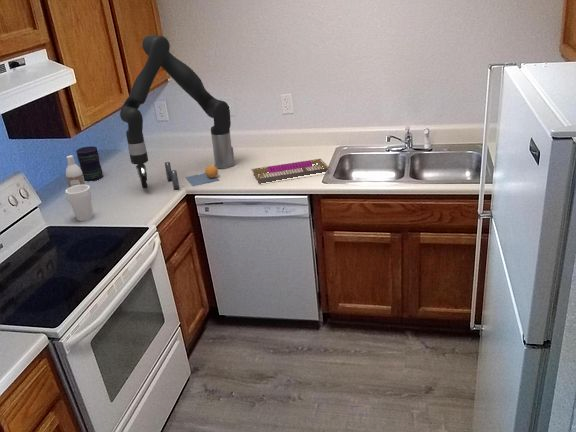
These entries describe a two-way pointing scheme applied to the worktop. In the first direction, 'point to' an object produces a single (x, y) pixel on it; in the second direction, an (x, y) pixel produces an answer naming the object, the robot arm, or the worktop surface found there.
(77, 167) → the bath foam
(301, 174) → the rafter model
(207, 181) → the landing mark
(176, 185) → the post
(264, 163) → the worktop surface
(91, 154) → the storage jar
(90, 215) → the foam cup
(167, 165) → the post
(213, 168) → the ball
